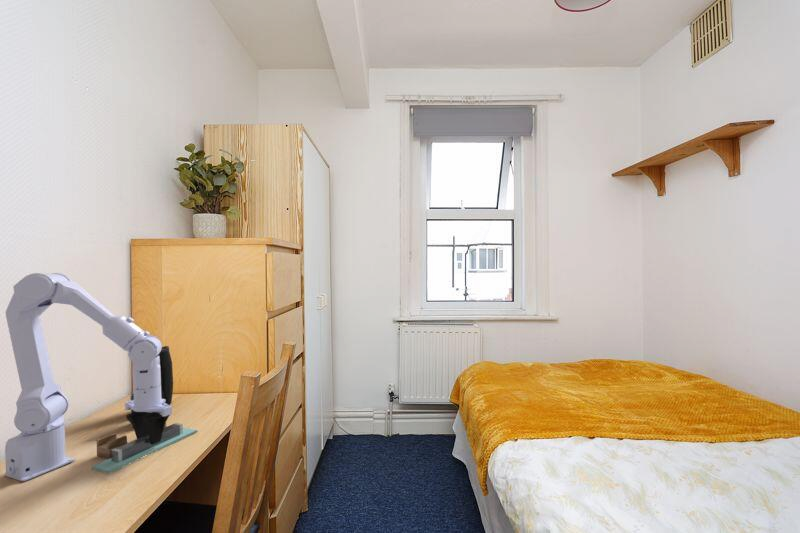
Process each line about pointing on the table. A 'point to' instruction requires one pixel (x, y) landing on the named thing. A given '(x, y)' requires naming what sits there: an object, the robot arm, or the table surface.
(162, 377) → the portable speaker
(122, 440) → the cradle left
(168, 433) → the rail
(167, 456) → the table surface
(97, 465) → the mat
